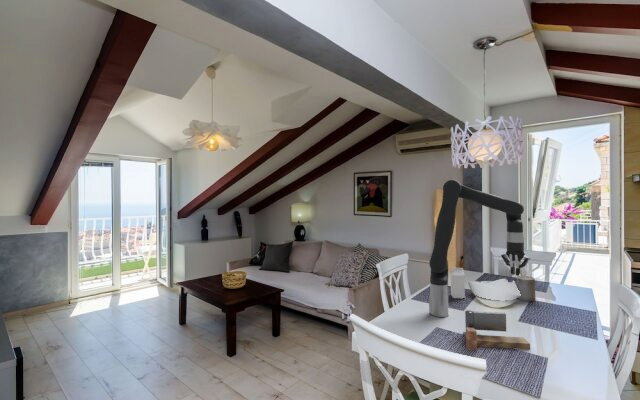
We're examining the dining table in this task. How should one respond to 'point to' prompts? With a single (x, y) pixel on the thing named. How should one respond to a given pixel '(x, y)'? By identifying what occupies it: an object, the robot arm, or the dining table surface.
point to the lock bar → (485, 320)
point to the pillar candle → (526, 288)
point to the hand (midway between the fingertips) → (515, 274)
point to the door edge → (493, 341)
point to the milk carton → (457, 283)
